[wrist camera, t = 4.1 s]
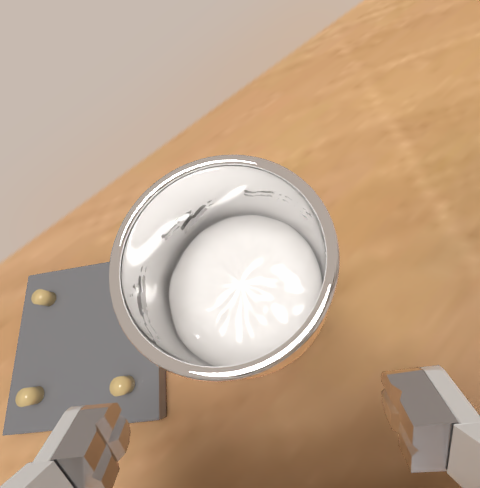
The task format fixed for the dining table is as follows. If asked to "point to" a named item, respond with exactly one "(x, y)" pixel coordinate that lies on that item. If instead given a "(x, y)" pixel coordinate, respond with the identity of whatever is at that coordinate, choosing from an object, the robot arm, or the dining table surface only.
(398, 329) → the dining table surface
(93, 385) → the coaster
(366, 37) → the dining table surface
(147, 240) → the beer glass
